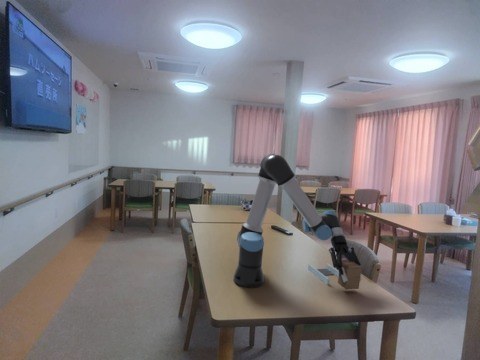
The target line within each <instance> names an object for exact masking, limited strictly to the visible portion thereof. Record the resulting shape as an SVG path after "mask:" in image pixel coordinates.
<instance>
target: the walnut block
mask: <svg viewBox="0 0 480 360" xmlns="http://www.w3.org/2000/svg"><path fill="white" fill-rule="evenodd" d="M342 267H344V270H345V273H346V276H347V279H348V281H346V282H343V279H342V276H341V275H340V273H339V277H337V284H338V285H340V287H342V288H343V289H345V290H359V288H360V282H361V281H360V277H361V275H362V268H363V267H362V265H360V266H359V265H358V264H356V263H354V262H352V261H348V262H342ZM342 267H341V268H342Z"/></svg>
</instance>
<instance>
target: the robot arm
mask: <svg viewBox="0 0 480 360" xmlns="http://www.w3.org/2000/svg"><path fill="white" fill-rule="evenodd" d="M257 176H258V179H259V180H258V181H259V182H258V183H257V184H258V185H257V187H256V191H255V194H254V197H253V200H252V203H251V206H250V209H249V213H248V215H247V218H246V221H245V222H243V223H242V225H241V228H240V230H239V232H238V234H237V236H236V237H237V238H236V241H237V244H238V249H239V250H238V262H237V263H238V264H237V267H236V269H235V272H234V274H233V282H234V283H235V284H236V285H238V286H240V287H245V288H251V289H252V288H258V287H261V286H263V284H264V282H265V276H264V272H263V269H262V268H263V267H262V264H263V253H264V246H265V241H264V237H263V233H264V230H263V228H262V226H263V223H264V220H265V218H266V215H267V211H268V208H269V206H270V201H271V199H272V196H273V192H274V191H275V187H276V185H277V186H278V187H281V188H282V189H283V191H284V193H285V194H286V196H287V197H288V198H289V200H290V201H291V202H292V204H293V205H294V207H295V208H296V209H297V211H298V212H299V214H300V216H301V217H302V218H303V219H302V222H301V225H302V229H303V231H304V233H312V234H314V236H315V237H316V238H317V239H318V240H321V241H327V240H330V243H331V246H332V247H330V248H329V249H328V251H329V253H330V258H331V261H332V267H334V268H335V269H336V270H338V271H339V273H340V275H341V276H342V279H343V282H346V281H348V279H347V276H346V273H345V270H344V267H342V258H343V257H342V256H344V257H345V259H348V261H352V262H354V263H356V264H358V265H359V266H362V265H361V262H360V261H359V258H358V256H357V255H356V252H355V248H354V247H349V245H348V243H347V242H348V241H347V239H346V236H345V234H344V231H343V228H342V226H341V223H340V221H339V220H340V219H339V217H338V215H337V213H336V212H335V211H334V210H331V209H329V210H325V211H324V212H323V213H322V215H320V214H319V212H318V210H317V209H316V207H315V206H314V204H313V203H312V202H311V200H310V198H309V197H308V196H307V194H306V193H305V191H304V189H302V187H301V186H300V184H299V182H298V181H297V180H296V178H295V177H296V174H295V173H294V172H293V170H292V168H291V166H290V165H289V163H288V162H287V160H286V159H285V158H284V157H283V156H282V155H279V154H274V153H272V154H271V153H270V154H268V155H265V156H264V157H263V158H262V160H261V161H260V169H259V172H258V175H257ZM341 267H342V268H341ZM362 279H363V278H362V277H361V276H360V282H361V281H362Z"/></svg>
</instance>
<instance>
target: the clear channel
mask: <svg viewBox="0 0 480 360" xmlns="http://www.w3.org/2000/svg"><path fill="white" fill-rule="evenodd" d="M327 269H328V270H327ZM307 270H308V271H309V272H310V273H312V274H313V275H314V276H316V277H317V278H318V279H319V280H320V281H322V282H323V283H324V282H325V283H326V285H327V284H329V285H330V279H329V278H328V277H327V276H332V275H331V273H332V274H333V273H334V274H335V275H334V276H336V275H337V276H338V277H339V271H338V270H337V269H336V268H334V267H333V265H331V264H329V263H328V262H327V263H326V264H325V268H315V267H314V266H313V265H312V264H310V263H308V266H307ZM330 271H331V272H330ZM337 276H336V277H337ZM338 277H337V278H338ZM325 283H324V284H325Z"/></svg>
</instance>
